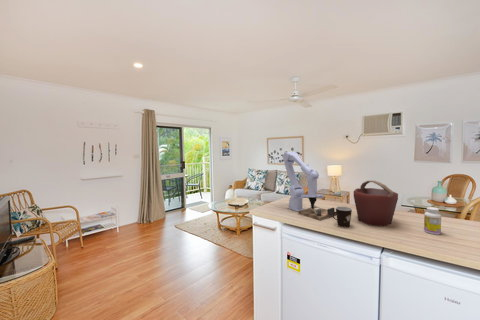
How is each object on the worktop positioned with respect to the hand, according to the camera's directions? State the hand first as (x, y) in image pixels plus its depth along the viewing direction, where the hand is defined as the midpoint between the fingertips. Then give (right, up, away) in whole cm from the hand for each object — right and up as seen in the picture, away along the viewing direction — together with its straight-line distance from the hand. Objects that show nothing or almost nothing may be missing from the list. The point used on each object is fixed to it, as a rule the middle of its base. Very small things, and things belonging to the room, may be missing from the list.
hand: (312, 208), depth 146 cm
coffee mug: (+10, -6, -20) cm, 23 cm away
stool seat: (+4, -4, +1) cm, 6 cm away
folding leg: (+2, -2, 0) cm, 3 cm away
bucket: (+32, -5, -16) cm, 36 cm away
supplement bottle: (+52, -5, -34) cm, 62 cm away
